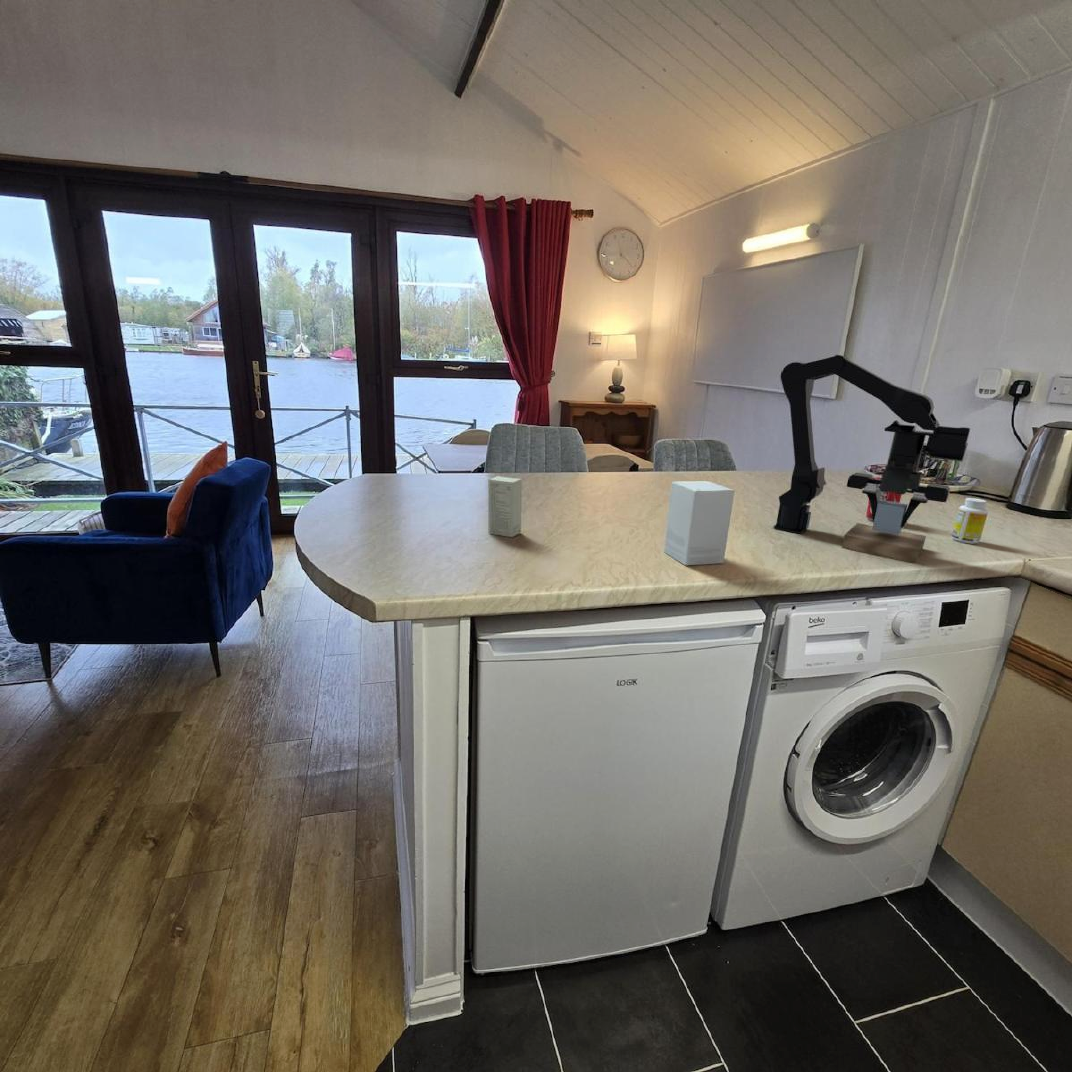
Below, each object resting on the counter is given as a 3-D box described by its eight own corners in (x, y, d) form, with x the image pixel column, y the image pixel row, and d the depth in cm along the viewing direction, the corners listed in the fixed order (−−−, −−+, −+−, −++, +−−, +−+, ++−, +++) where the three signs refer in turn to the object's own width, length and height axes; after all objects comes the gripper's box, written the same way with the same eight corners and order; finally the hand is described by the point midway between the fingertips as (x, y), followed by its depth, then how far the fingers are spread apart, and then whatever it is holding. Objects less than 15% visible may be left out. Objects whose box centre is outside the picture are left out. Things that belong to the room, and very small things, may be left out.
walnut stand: (841, 547, 129) (844, 534, 128) (854, 534, 139) (857, 523, 138) (914, 563, 120) (918, 549, 119) (922, 548, 131) (926, 536, 130)
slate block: (871, 529, 128) (878, 503, 126) (876, 525, 132) (882, 500, 130) (897, 534, 125) (904, 507, 123) (901, 530, 129) (907, 504, 127)
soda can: (898, 525, 150) (910, 480, 146) (869, 523, 151) (879, 477, 148) (888, 518, 156) (899, 475, 153) (860, 516, 158) (870, 473, 154)
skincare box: (521, 533, 127) (523, 478, 123) (512, 538, 123) (514, 482, 120) (496, 528, 130) (497, 475, 126) (486, 533, 126) (487, 478, 122)
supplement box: (725, 564, 114) (736, 490, 109) (685, 566, 111) (695, 491, 107) (700, 549, 122) (710, 480, 118) (662, 551, 120) (670, 480, 115)
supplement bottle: (983, 543, 138) (996, 501, 135) (970, 545, 135) (982, 503, 132) (959, 536, 142) (970, 496, 139) (945, 538, 140) (956, 497, 137)
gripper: (849, 452, 123) (834, 522, 128) (954, 465, 112) (933, 541, 117) (859, 447, 131) (845, 513, 136) (958, 459, 120) (939, 531, 125)
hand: (887, 524), depth 128 cm, fingers closed on slate block, 5 cm apart
